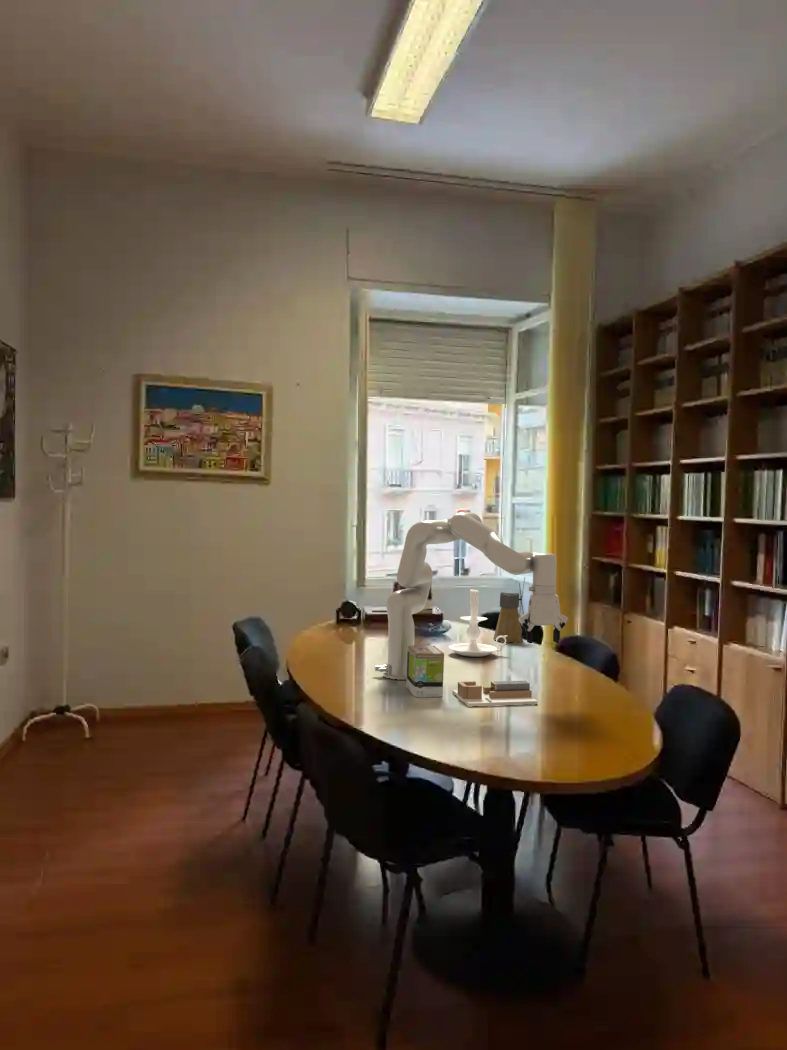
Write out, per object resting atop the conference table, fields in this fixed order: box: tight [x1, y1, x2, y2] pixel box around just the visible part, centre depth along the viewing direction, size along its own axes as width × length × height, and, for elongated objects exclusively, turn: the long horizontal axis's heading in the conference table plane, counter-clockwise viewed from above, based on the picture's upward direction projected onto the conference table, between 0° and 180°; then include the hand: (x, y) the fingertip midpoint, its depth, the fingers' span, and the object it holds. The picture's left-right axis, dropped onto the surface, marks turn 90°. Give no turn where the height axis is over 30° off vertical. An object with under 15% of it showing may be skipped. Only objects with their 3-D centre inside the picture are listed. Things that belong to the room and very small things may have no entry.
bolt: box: [490, 680, 531, 691], centre depth 266 cm, size 12×4×4 cm, turn 102°
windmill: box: [492, 576, 526, 644], centre depth 376 cm, size 21×14×30 cm, turn 164°
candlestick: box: [447, 588, 508, 658], centre depth 338 cm, size 21×25×28 cm
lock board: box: [452, 680, 538, 708], centre depth 265 cm, size 23×18×5 cm
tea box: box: [406, 645, 445, 698], centre depth 272 cm, size 15×10×15 cm, turn 9°
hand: (542, 642), depth 268 cm, fingers open, 8 cm apart
